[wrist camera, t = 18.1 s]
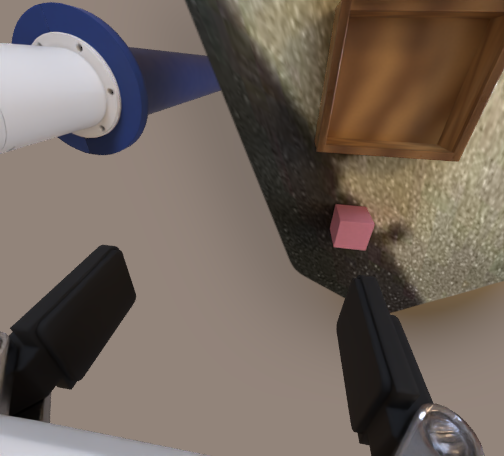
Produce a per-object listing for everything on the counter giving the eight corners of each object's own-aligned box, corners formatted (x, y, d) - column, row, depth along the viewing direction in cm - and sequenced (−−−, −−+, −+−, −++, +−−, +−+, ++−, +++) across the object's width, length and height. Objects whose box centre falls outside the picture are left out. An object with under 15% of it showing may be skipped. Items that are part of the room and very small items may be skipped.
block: (329, 228, 41) (333, 247, 36) (335, 203, 38) (340, 220, 34) (358, 231, 40) (365, 250, 36) (366, 206, 38) (374, 224, 33)
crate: (313, 141, 34) (316, 151, 30) (335, 7, 26) (342, -3, 22) (438, 149, 32) (458, 161, 28) (499, 8, 25) (538, -2, 21)
